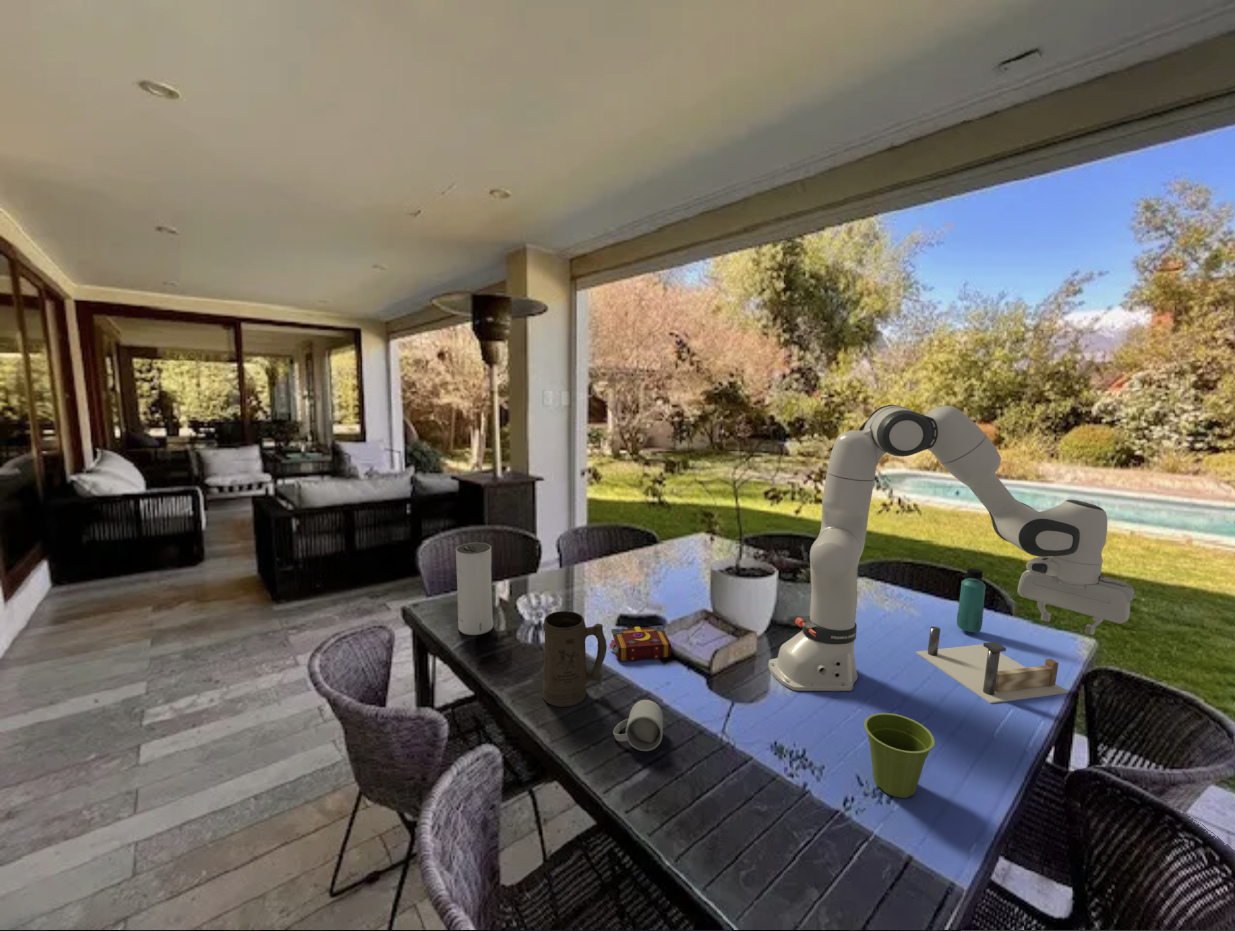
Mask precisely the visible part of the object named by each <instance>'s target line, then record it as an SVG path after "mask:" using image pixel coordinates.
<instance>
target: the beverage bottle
mask: <svg viewBox="0 0 1235 931" xmlns="http://www.w3.org/2000/svg"><path fill="white" fill-rule="evenodd" d="M983 573H984V572H983V570H982V569H979V568H967V569H966V577H968V578H965V579H963V580H962V581H961V585H960V595H959V599H958V600H959V601H958V606H957V607H958V609H957V617H956V624H957V628H959V629H961V630H963V631H966V632H970V633H978V632H981V630H982V627H983V621H984V620H983V619H984V613H985V611H984V608H985V598H986V597H985V595H986V588H987V585H986V584H985V583H984V582H983V581H982V580H983ZM980 579H982V580H980Z"/></svg>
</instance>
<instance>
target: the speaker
mask: <svg viewBox="0 0 1235 931" xmlns="http://www.w3.org/2000/svg"><path fill="white" fill-rule="evenodd" d="M455 557H456V558H455V560H456V561H455V562H456V565H455V566H456V588H457V591H456V592H457V618H458V619H457V620H458V622H457V624H458V626H457V627H458V630H459V632H460V633H461V634H463V635H467V636H481V635H483V634H486V633H488V632H490V631H491V630H492V629H493V628H494V600H493V599H494V598H493V574H492V573H493V569H492V568H493V567H492V566H493V565H492V546H491V545H490V544H488V543H485V542H468V543H463V544H461V545H458V546H457V547H456V548H455Z"/></svg>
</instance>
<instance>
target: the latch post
mask: <svg viewBox="0 0 1235 931" xmlns="http://www.w3.org/2000/svg"><path fill="white" fill-rule="evenodd" d="M940 635H941V628H940V627H938V626H930V628H929V637H928V638H929V639H928V646H927V650H928V654H929V655H932V656H937V655H938V649H939V645H940Z"/></svg>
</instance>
